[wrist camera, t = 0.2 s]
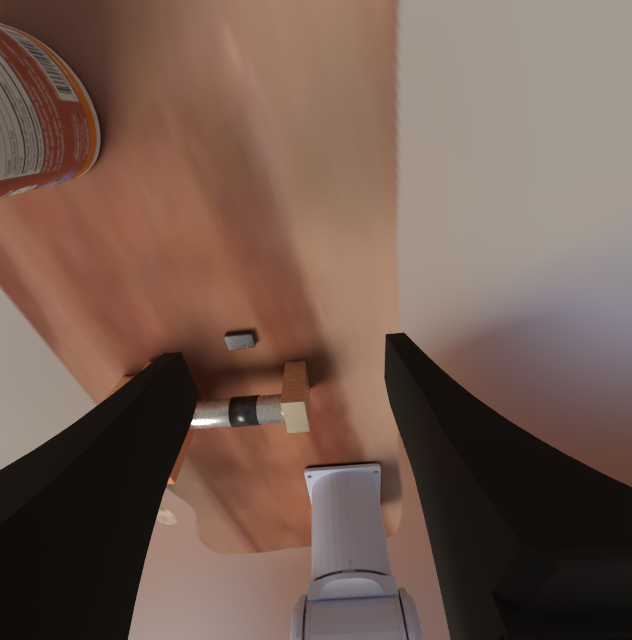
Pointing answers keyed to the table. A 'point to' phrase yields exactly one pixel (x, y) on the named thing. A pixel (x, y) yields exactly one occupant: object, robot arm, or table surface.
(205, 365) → the table surface
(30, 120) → the pill bottle
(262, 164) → the table surface
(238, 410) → the pipe rail
